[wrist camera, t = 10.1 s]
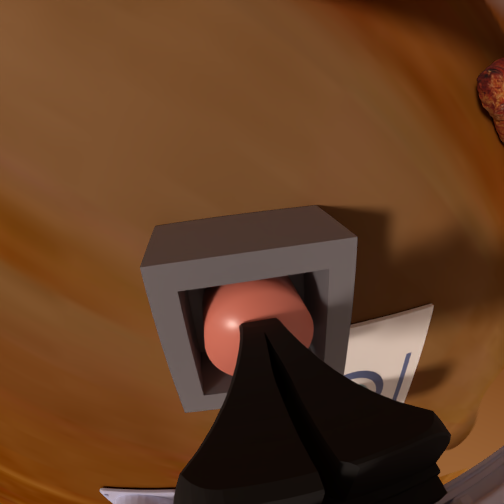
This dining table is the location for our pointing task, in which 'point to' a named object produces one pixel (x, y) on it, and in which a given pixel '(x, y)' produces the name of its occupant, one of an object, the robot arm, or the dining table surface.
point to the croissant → (493, 93)
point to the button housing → (243, 270)
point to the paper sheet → (387, 351)
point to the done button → (250, 315)
